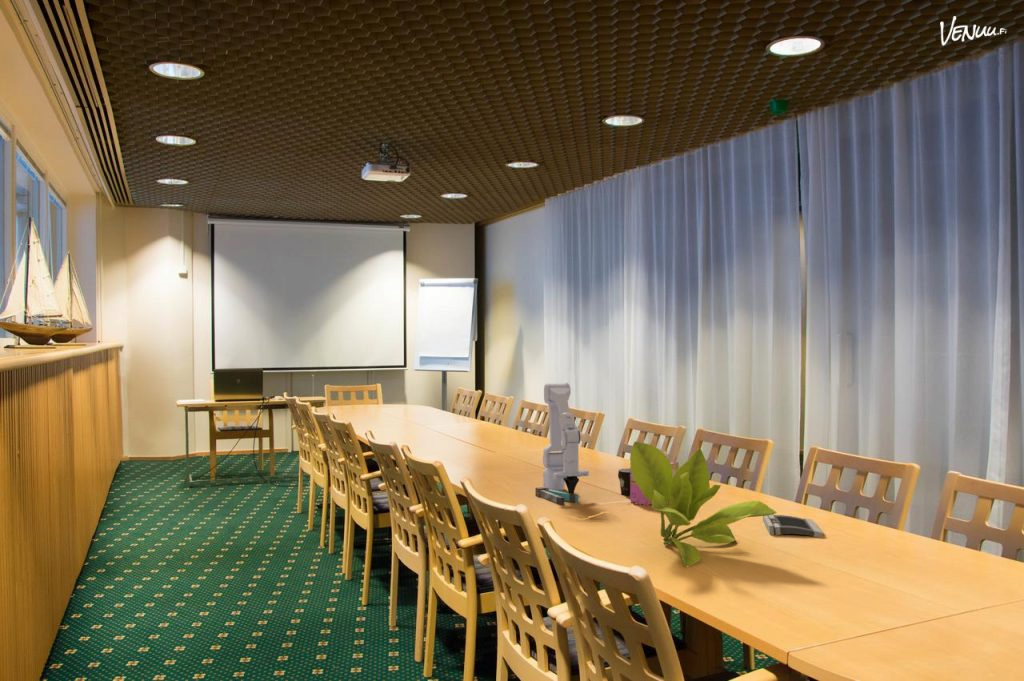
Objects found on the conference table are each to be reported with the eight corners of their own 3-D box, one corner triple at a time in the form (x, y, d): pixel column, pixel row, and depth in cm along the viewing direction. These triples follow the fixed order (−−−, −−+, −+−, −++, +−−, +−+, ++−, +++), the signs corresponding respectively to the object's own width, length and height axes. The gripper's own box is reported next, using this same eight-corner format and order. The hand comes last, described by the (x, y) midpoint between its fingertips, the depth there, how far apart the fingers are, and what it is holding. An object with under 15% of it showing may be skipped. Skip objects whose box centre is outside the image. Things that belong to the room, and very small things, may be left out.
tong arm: (548, 497, 292) (548, 490, 292) (551, 496, 293) (551, 489, 293) (575, 502, 282) (575, 495, 282) (578, 502, 283) (578, 494, 283)
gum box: (664, 493, 302) (664, 459, 302) (681, 496, 297) (681, 461, 297) (629, 502, 285) (629, 467, 285) (647, 506, 280) (647, 469, 279)
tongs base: (535, 495, 295) (535, 486, 295) (545, 494, 297) (545, 485, 297) (559, 505, 278) (559, 495, 278) (569, 504, 280) (569, 494, 280)
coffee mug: (642, 497, 293) (642, 472, 293) (619, 497, 293) (619, 472, 293) (637, 491, 305) (637, 467, 305) (616, 491, 305) (616, 467, 305)
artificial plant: (632, 590, 205) (684, 512, 192) (584, 479, 240) (625, 406, 226) (753, 598, 222) (808, 527, 208) (691, 493, 256) (735, 426, 242)
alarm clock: (762, 513, 255) (813, 511, 252) (763, 527, 255) (814, 525, 252) (769, 525, 238) (823, 524, 235) (770, 540, 238) (825, 539, 235)
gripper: (559, 463, 280) (559, 500, 280) (592, 460, 286) (593, 496, 286) (550, 460, 286) (550, 496, 286) (583, 458, 292) (583, 493, 292)
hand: (571, 496), depth 286 cm, fingers closed, pressing on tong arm
